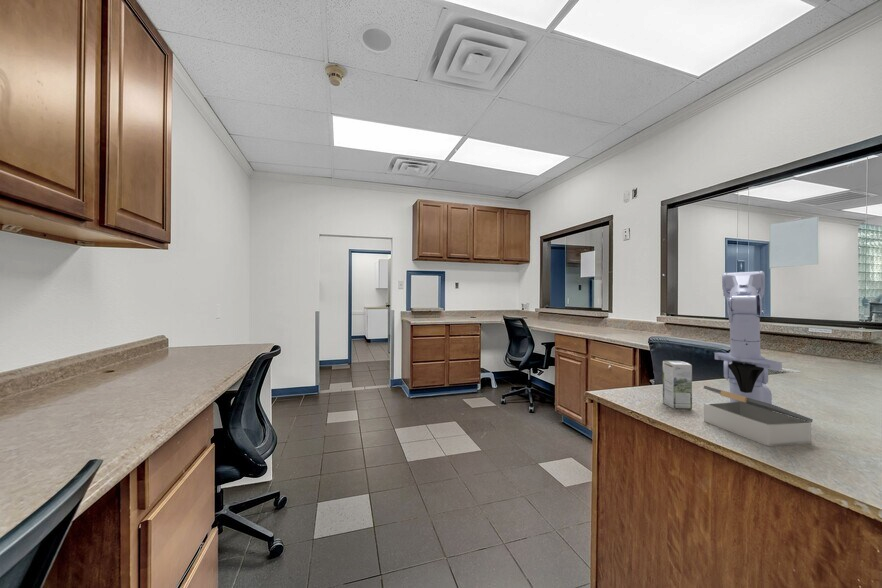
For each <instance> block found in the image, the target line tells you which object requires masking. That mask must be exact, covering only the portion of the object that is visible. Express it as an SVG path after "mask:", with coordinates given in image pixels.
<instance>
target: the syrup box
mask: <svg viewBox="0 0 882 588" xmlns="http://www.w3.org/2000/svg"><path fill="white" fill-rule="evenodd" d="M662 403H663V404H664V405H666V406H667V407H670V408H672V409H674V408H679V409H681V410H693V365H692V364H691V363H689V362H686V361H681V360H662ZM679 409H678V410H679Z"/></svg>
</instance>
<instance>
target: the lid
mask: <svg viewBox="0 0 882 588" xmlns="http://www.w3.org/2000/svg"><path fill="white" fill-rule="evenodd" d="M703 389H705V390H706V391H710V392H713V393H715V394H719V395H720V396H721V397H725V398H727V399H730V398H731V399H734V400H737V401H740V402H744V403H747V404H750V405H754V406H757V407H761V408H764V409H767V410H771V411H774V412H777V413H780V414H784V415H787V416H791V417H794V418H797V419H801V420H804V421H808V422H811V423H813V419H812V418H811V417H808V416H805V415H803V414H800V413H796V412H793V411H792V410H789V409H786V408H783V407H780V406H777V405H776V404H773V403H772V404H769V403H765V402H762V401H758V400H755V399H751V398H747V397H744V396H741V395H737V394H733V393H730V391H727V390H722V389H718V388H714V387H710V386H706V385H703Z"/></svg>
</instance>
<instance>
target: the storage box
mask: <svg viewBox="0 0 882 588" xmlns="http://www.w3.org/2000/svg"><path fill="white" fill-rule="evenodd" d="M703 421H704V422H705V423H708V424H711V425H713V426H715V427H718V428H721V429H723V430H726V431H729V432H731V433H734V434H736V435H739V436H741V437H744V438H747V439H749V440H752V441H754V442H756V443H759V444H762V445H763V446H766V447H768V448H772V447H784V446H785V447H787V446H795V445H806V444H808V445H809V444H812V422H808V421H805V420H801V419H798V418H795V417H791V416H788V415H784V414H781V413H778V412H774V411H770V410H767V409H763V408H760V407H757V406H753V405H750V404H746V403H743V402H740V401H737V402H730V401H724V402H710V403H709V402H706V403H703Z"/></svg>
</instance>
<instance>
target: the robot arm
mask: <svg viewBox="0 0 882 588" xmlns="http://www.w3.org/2000/svg"><path fill="white" fill-rule="evenodd" d="M721 280H722V290H723V291H722V293H723V297H724V299H725V300H726V306H727V307H726V309H727V311H726V313H727V315H728V323H729V342H730V343H729V344H730V347H729V349H730V350H729V351H730V352H728V353H726V352H714V360H717V361H723V378H725V380H728V381H729V392H730V393H733V394H737V395H741V396H744V397H747V398H751V399H755V400H758V401H762V402H765V403H769V404H772V405H773V401H772V400H773V399H772V398H773V397H772V396H773V394H772V390H771V389H770V388H769V387H768V386H767V384H768V383H769V370H771V371H782V369H783V363H782V362H780V361H775V360H772V359H767V358H765V356H763V355H761V331H760V330H761V326H760V325H761V324H760V323H761V322H760V321H761V320H760V319H761V317H762V313H763V303H762V301H763V300H762V299H763V298H764V296H765V289H766V275H765V272H764V271H763V270H758V271H756V270H755V271H737V272H724V273H722V274H721ZM729 402H737V400H734V399H731V398H729ZM743 403H744V402H743ZM746 404H747V403H746ZM753 406H754V405H753ZM760 408H761V407H760ZM763 409H764V408H763ZM770 411H771V410H770Z"/></svg>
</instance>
